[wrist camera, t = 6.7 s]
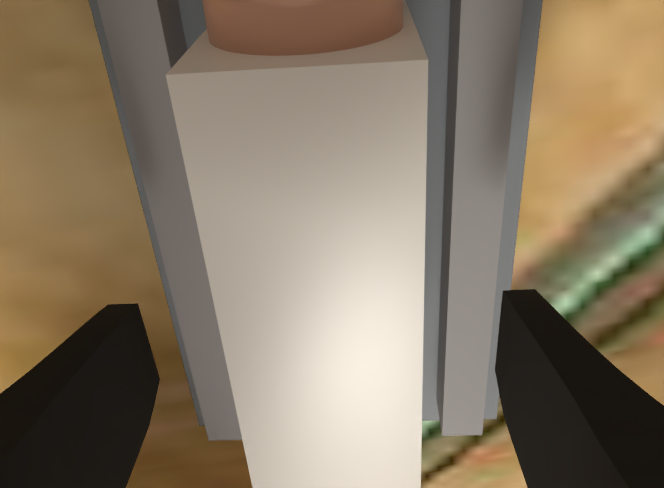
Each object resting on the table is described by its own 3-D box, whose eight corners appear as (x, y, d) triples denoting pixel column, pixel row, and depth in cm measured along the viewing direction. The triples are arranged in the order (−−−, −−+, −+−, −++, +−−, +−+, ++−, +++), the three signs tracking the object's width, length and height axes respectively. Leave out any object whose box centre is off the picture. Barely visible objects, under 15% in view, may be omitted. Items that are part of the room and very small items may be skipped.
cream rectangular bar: (405, 369, 19) (419, 512, 15) (279, 372, 19) (258, 514, 15) (404, -108, 12) (430, -93, 8) (209, -93, 13) (134, -72, 8)
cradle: (490, 396, 21) (506, 456, 19) (205, 403, 22) (189, 462, 20) (545, -157, 13) (585, -161, 10) (76, -120, 13) (23, -117, 11)
